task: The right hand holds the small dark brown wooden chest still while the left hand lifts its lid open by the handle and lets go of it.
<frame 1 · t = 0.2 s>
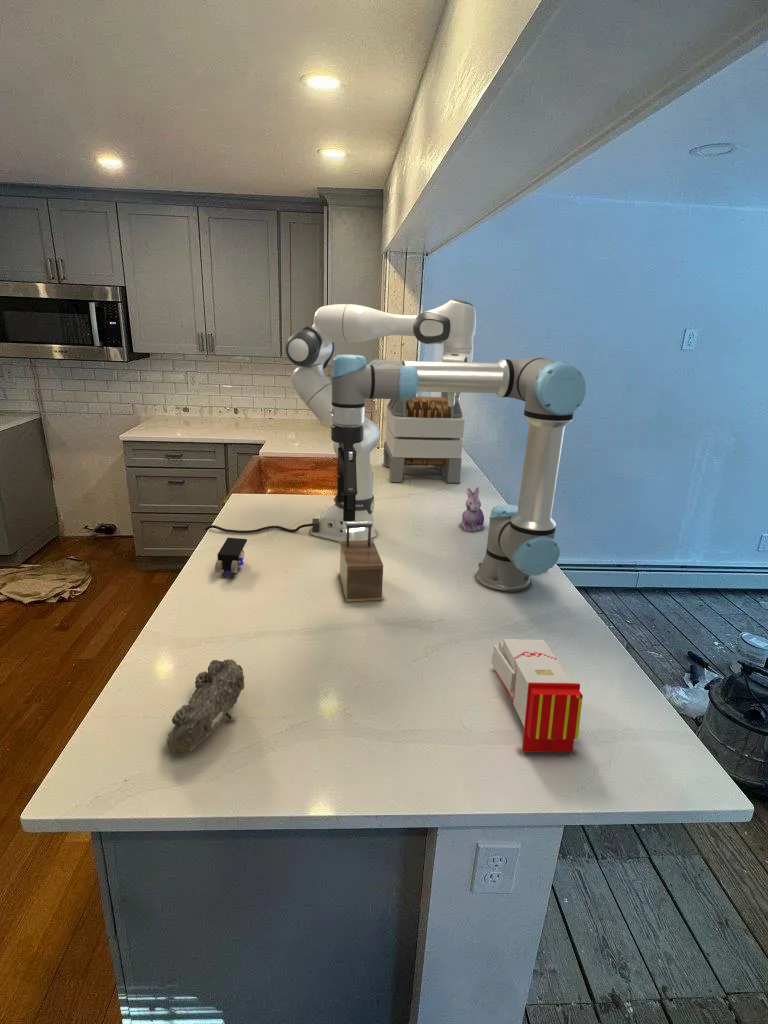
left hand: (453, 404, 174), 48 cm above the counter, tool pointing down, fingers open, 8 cm apart
right hand: (345, 510, 138), 28 cm above the counter, tool pointing down, fingers open, 13 cm apart
lid: (361, 542, 157), point 14 cm above the counter, hinge at 0.0°
transformer: (419, 473, 275), on the counter
figurine: (472, 527, 209), on the counter
black wheeled rover: (232, 569, 168), on the counter
fossil: (212, 717, 108), on the counter
chest: (360, 586, 161), on the counter
toy: (527, 703, 116), on the counter
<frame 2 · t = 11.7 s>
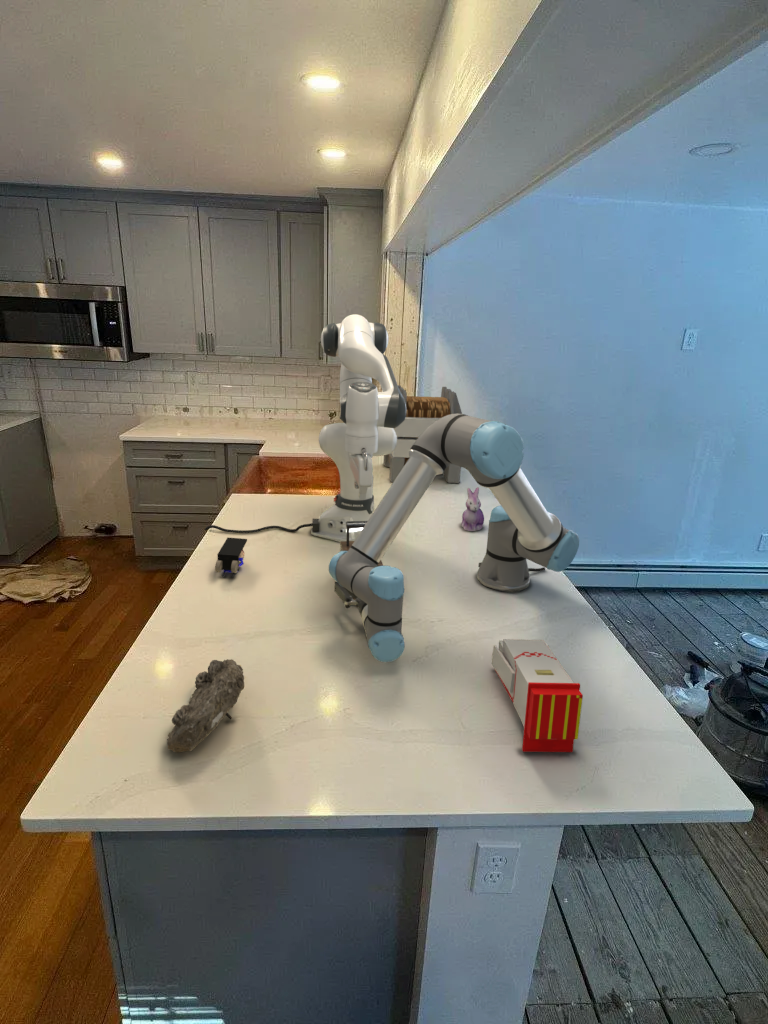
left hand: (359, 493, 157), 26 cm above the counter, tool pointing down, fingers open, 8 cm apart
right hand: (363, 572, 154), 7 cm above the counter, tool horizontal, fingers closed on chest, 10 cm apart
chest: (359, 586, 161), on the counter, touching right hand
everything else where it was.
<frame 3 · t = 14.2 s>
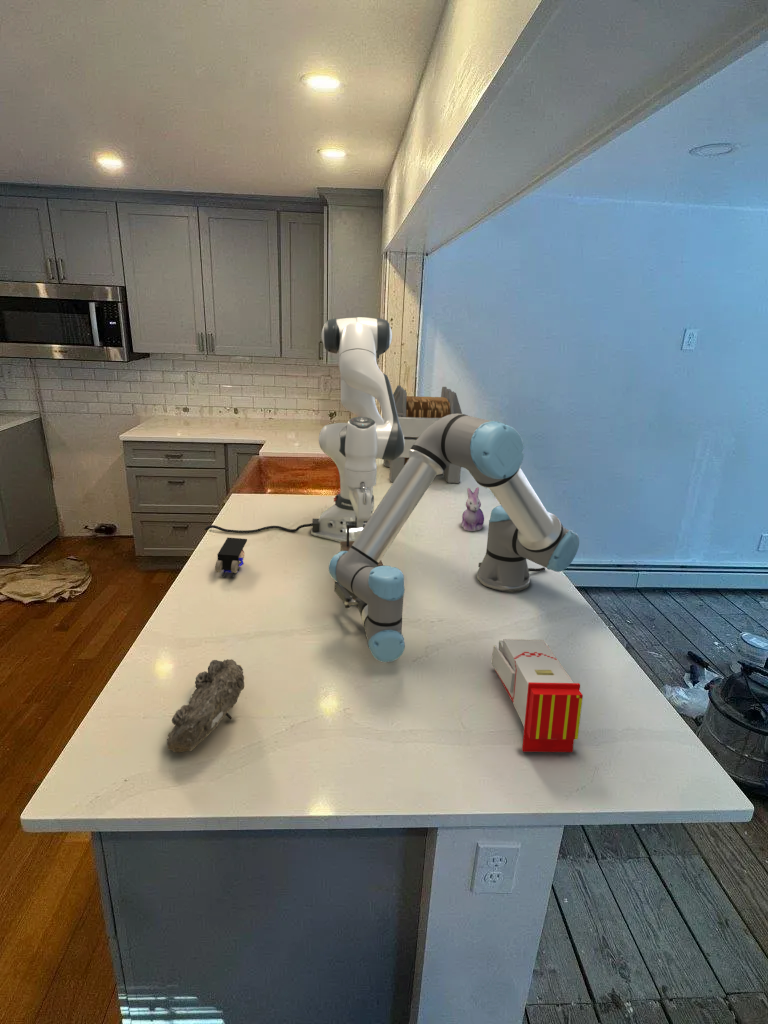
left hand: (358, 524, 160), 17 cm above the counter, tool pointing down, fingers closed on lid, 2 cm apart
right hand: (363, 572, 154), 7 cm above the counter, tool horizontal, fingers closed on chest, 10 cm apart
lid: (361, 542, 157), point 14 cm above the counter, hinge at -0.1°, touching left hand
chest: (360, 586, 161), on the counter, touching right hand
everything else where it was.
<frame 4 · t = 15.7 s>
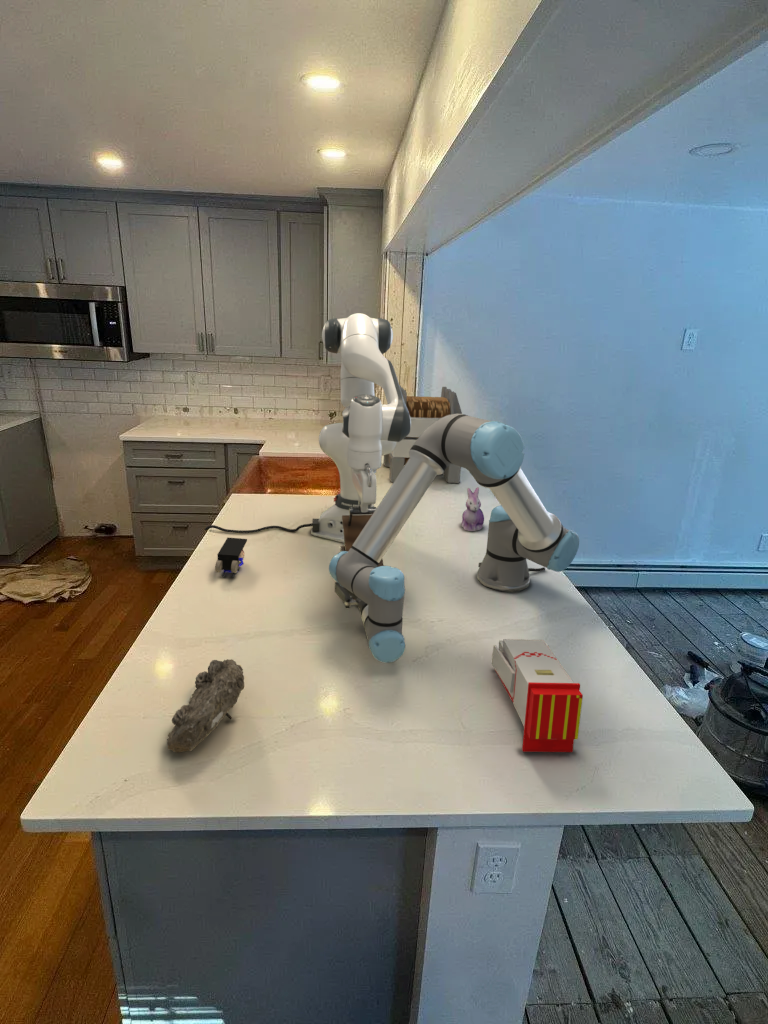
left hand: (362, 509, 152), 24 cm above the counter, tool pointing down, fingers closed
right hand: (363, 572, 154), 7 cm above the counter, tool horizontal, fingers closed on chest, 10 cm apart
lid: (363, 533, 152), point 18 cm above the counter, hinge at 33.3°, touching left hand
chest: (360, 586, 161), on the counter, touching right hand
everything else where it was.
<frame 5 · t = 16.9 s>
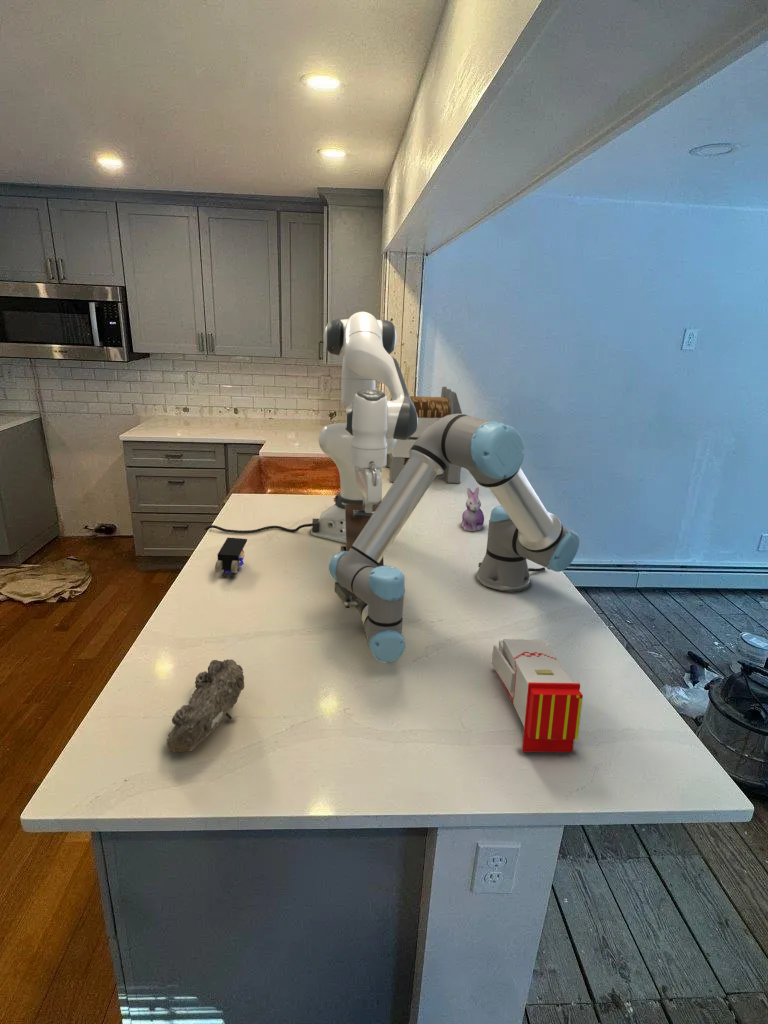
left hand: (367, 510, 144), 26 cm above the counter, tool pointing down, fingers closed, pressing on lid
right hand: (363, 572, 154), 7 cm above the counter, tool horizontal, fingers closed on chest, 10 cm apart
lid: (366, 534, 147), point 19 cm above the counter, hinge at 63.3°, touching left hand
chest: (359, 586, 161), on the counter, touching right hand
everything else where it was.
when the right hand's fingers open (7 cm above the counter, at t = 20.9 s): chest stays where it is, on the counter.
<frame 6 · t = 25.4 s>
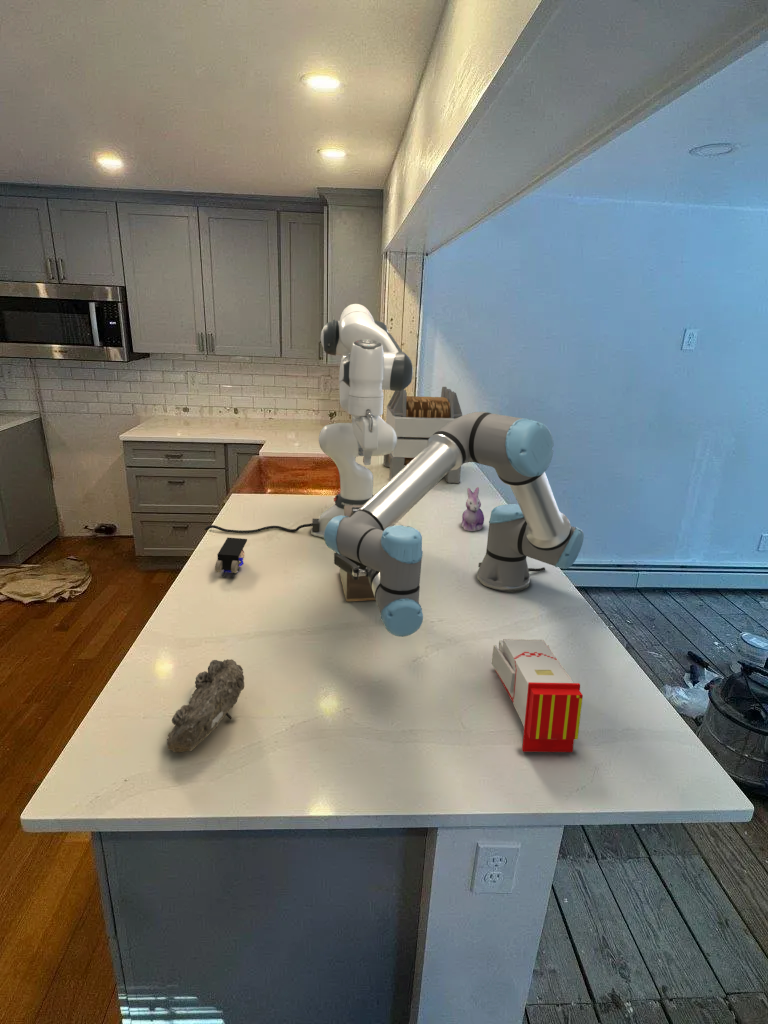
left hand: (364, 459, 149), 37 cm above the counter, tool pointing down, fingers open, 8 cm apart
right hand: (372, 543, 137), 21 cm above the counter, tool horizontal, fingers open, 13 cm apart
lid: (365, 533, 149), point 19 cm above the counter, hinge at 55.8°
chest: (359, 586, 161), on the counter
everything else where it was.
at the end: lid at +56° (first picture: +0°); the left hand is holding nothing; the right hand is holding nothing; chest tilted 0°; chest never tilted more than 1° during the clip; chest moved 0.1 cm from its start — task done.
